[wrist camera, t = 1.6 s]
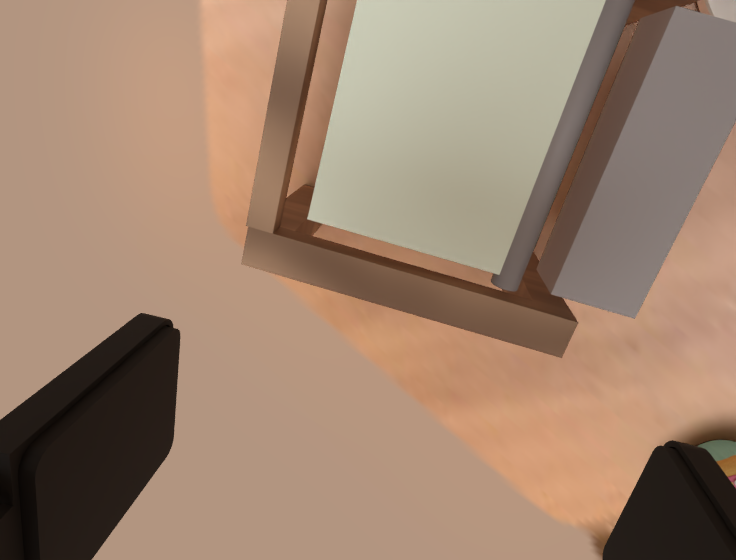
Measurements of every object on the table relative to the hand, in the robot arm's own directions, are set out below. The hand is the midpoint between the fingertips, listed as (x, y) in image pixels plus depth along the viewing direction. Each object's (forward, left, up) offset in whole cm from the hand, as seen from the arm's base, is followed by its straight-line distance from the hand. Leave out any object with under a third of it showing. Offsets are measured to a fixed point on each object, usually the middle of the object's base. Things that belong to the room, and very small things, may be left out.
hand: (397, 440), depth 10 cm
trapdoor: (-5, +2, -16) cm, 17 cm away
